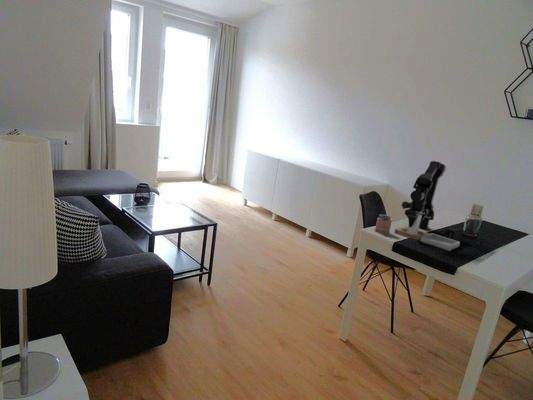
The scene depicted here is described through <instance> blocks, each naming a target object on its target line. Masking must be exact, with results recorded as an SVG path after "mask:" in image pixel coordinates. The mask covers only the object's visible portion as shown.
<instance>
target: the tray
mask: <svg viewBox="0 0 533 400" xmlns="http://www.w3.org/2000/svg"><path fill="white" fill-rule="evenodd" d="M420 243H423V244H426V245H429V246H432V247H435V248H438V249H441V250H444V251H447V252H450V251H452V250H455V249H457V248H459V247H460V246H461V244H460V243H461V241H455V240H452V239H449V238H446V237H445V236H442V235H439V234H436V233H432V232H431V233H429V234H428V235H425V236H423V237H421V240H420Z"/></svg>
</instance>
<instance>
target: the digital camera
mask: <svg viewBox="0 0 533 400" xmlns="http://www.w3.org/2000/svg"><path fill="white" fill-rule="evenodd" d="M463 233H464V229H463V228H459V227H457V226H455V227H446V228H445V229H444V232H443V235H444V237H446V238H449V239H452V240H455V241H459V242H461V241H462V236H463Z"/></svg>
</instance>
